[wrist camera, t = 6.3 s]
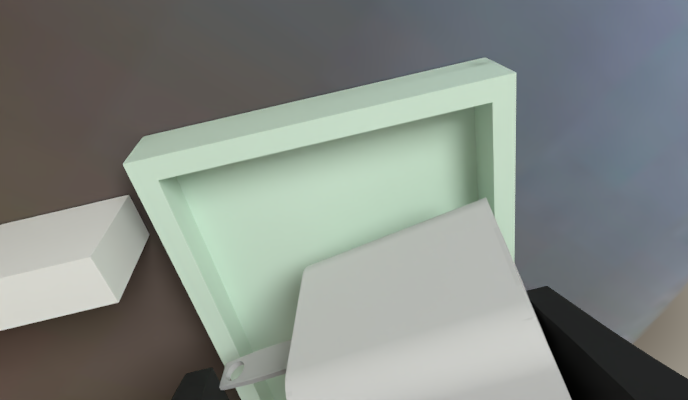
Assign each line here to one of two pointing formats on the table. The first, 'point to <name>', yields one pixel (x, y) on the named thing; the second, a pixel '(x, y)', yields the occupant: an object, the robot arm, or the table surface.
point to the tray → (320, 190)
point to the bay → (68, 260)
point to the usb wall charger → (414, 322)
